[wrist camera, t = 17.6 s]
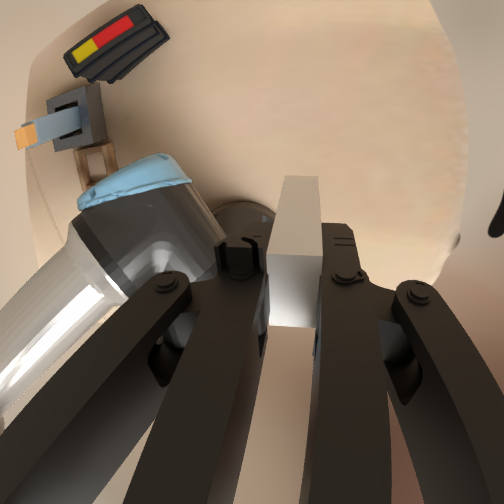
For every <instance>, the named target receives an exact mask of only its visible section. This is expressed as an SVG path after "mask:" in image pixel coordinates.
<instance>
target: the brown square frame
mask: <svg viewBox="0 0 504 504" xmlns="http://www.w3.org/2000/svg"><path fill="white" fill-rule="evenodd" d="M97 152H103V156H104V161H105V166H106V171H107V175H108V176H109V175H111V174H112V173H114V172H116V171H118V168H117V163H116V158H115V153H114V147H113V142H111V143H105V144H100V145H94V146H89V147H84V148H80V149H78V150H76V151H74V156H75V160H76V165H77V169H78V173H79V178H80V182H81V186H82V190H83V192H84V191H87V190H89V189H90V188H91V187H93V186H95V185H96V184H97V183H98V182H91V178H90V173H89V169H88V164H87V160H86V154H91V153H97Z"/></svg>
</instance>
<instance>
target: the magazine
mask: <svg viewBox="0 0 504 504" xmlns="http://www.w3.org/2000/svg"><path fill="white" fill-rule="evenodd" d="M169 39H170V37H169V35H168V34H167V33H166V31H165V30H164V28H163V27H162V26H161V25H160V23H159V22H158V21H154V20H153V18H152V17H151V16H150V14H149V13H148V11H147V10H146V9H145V7H144V6H143V5H140V4H137V5H135V6H134V7H132V8H130V9H128V10H127V11H125V12H123V13H122V14H120V15H118V16H117V17H115V18H113V19H112V20H110V21H109V22H107V23H106V24H104V25H103V26H101V27H100V28H98V29H97V30H95V31H94V32H92V33H91V34H90V35H88V36H87V37H85V38H84V39H83V40H81V41H80V42H79V43H77V44H76V45H75V46H73V47H72V48H71V49H69V50H68V51H67V52H66V53H65V54H64V57H63V58H64V60H65V62H66V64H67V65H68V67H69V69H70V70H71V72H72V74H73V76H74V77H75V78H78V77H79V76H82V77H84V78H87V80H88V82H89V83H94V82H95V81H96V80H99V81H107V82H108V84H113V83H114V82H115V81H116V80H121V79H122V78H123V77H125V76H126V75H127V74H128V73H129V72H130V71H131V70H132V69H134V68H135V67H136V66H137V65H138V64H139V63H140V62H142V61H143V60H144V59H145V58H146V57H148V56H149V55H150V54H151V53H153V52H154V51H155V50H156V49H158V48H159V47H160V46H161V45H163V44H164V43H165V42H167V41H168V40H169Z"/></svg>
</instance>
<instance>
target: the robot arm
mask: <svg viewBox="0 0 504 504" xmlns="http://www.w3.org/2000/svg"><path fill="white" fill-rule="evenodd" d="M192 182H193V181H192V179H191V178H188V177H187V175H186V174H185V173H184V171H183V170H182V169H181V167H180V166H179V165H178V163H177V162H176V161H175V159H174V158H173V157H172V156H170V155H168V154H165V153H156V154H152V155H149V156H146V157H144V158H142V159H139V160H137V161H135V162H133V163H131V164H129V165H127V166H125V167H123V168H121V169H119V170H118V171H116V172H114V173H112V174H111V175H109V176H107V177H106V178H104V179H102V180H101V181H99V182H98V183H97V184H96V185H95V186H93V187H91V188H90V189H89V190H87V191H85V192H84V193H83V194H81V195H80V196H79V198H78V199H77V205H78V209H79V211H82V212H81V213H80V214H79V215H78V216H77V217H75V218H74V219H73V220H72V221H71V222H70V223H69V228H68V236H67V241H66V244H65V246H63V247H62V248H61V249H60V250H59V251H58V252H57V253H56V254H55V255H54V256H53V257H52V258H51V259H50V260H48V261H47V262H46V263H45V264H44V265H43V266H42V267H41V268H40V269H39V270H38V271H37V272H36V273H35V274H34V275H33V276H32V277H31V278H30V279H29V280H28V281H27V282H26V283H25V284H24V286H23V287H22V288H21V289H20V290H19V291H18V292H17V293H16V294H15V295H14V296H13V297H12V298H11V299H10V300H9V302H8V303H7V304H6V305H5V306H4V307H3V308H2V309H1V310H0V504H92V503H93V502H94V500H95V499H96V497H97V496H98V495H99V494H100V492H101V491H102V490H103V488H104V487H105V486H106V485H107V483H108V482H109V481H110V479H111V478H112V477H113V475H114V474H115V472H116V471H117V470H118V468H119V467H120V466H121V464H122V463H123V462H124V460H125V459H126V458H127V456H128V455H129V454H130V452H131V451H132V449H133V448H134V447H135V445H136V444H137V443H138V441H139V440H140V438H141V437H142V436H143V434H144V433H145V432H146V430H147V429H148V427H149V426H150V425H151V423H152V422H153V421H154V419H155V418H156V419H155V421H154V424H153V426H152V429H151V431H150V434H149V436H148V439H147V441H146V444H145V446H144V449H143V451H142V454H141V456H140V459H139V462H138V464H137V467H136V470H135V472H134V475H133V477H132V480H131V483H130V485H129V488H128V490H127V493H126V496H125V498H124V501H123V504H233V501H234V497H235V492H236V488H237V484H238V479H239V475H240V471H241V466H242V462H243V457H244V453H245V448H246V444H247V439H248V434H249V429H250V424H251V420H252V415H253V410H254V406H255V400H256V396H257V390H258V385H259V381H260V375H261V370H262V365H263V359H264V355H265V349H266V343H267V339H268V335H267V325H268V320H269V325H276V326H292V327H312V328H316V332H315V340H314V348H313V356H314V359H313V375H312V391H311V403H310V415H309V426H308V436H307V445H306V455H305V463H304V471H303V478H302V485H301V493H300V499H299V504H391V487H392V484H391V483H392V480H391V478H392V477H391V476H392V474H391V473H392V472H391V439H390V424H389V423H390V422H389V409H388V398H387V391H388V394H389V397H390V399H391V402H392V405H393V407H394V410H395V413H396V415H397V418H398V421H399V424H400V427H401V430H402V433H403V435H404V438H405V441H406V444H407V447H408V450H409V453H410V456H411V459H412V463H413V466H414V469H415V472H416V476H417V479H418V482H419V486H420V489H421V493H422V496H423V500H424V503H425V504H504V395H503V393H502V391H501V390H500V388H499V386H498V384H497V382H496V380H495V379H494V377H493V375H492V373H491V372H490V370H489V368H488V367H487V365H486V363H485V361H484V360H483V358H482V357H481V355H480V353H479V352H478V350H477V348H476V347H475V345H474V344H473V342H472V340H471V339H470V337H469V336H468V334H467V333H466V331H465V330H464V328H463V327H462V325H461V324H460V322H459V321H458V319H457V318H456V317H455V315H454V314H453V312H452V311H451V309H450V308H449V307H448V305H447V304H446V302H445V301H444V300H443V298H442V297H441V296H440V294H439V293H438V292H437V291H436V290H435V289H434V288H433V287H432V286H431V285H429V284H427V283H425V282H422V281H418V280H407V281H404V282H401V283H400V284H399V285H398V286H397V289H396V291H394V290H390V289H386V288H382V287H380V286H377V285H375V284H373V283H371V282H370V281H369V277H368V275H367V274H366V272H365V271H364V270H362V269H361V266H360V261H359V257H358V252H357V247H356V243H355V240H354V234H353V230H352V229H350V228H349V227H348V226H347V225H346V224H340V223H321V212H320V197H319V184H318V176H285V179H284V183H283V187H282V191H281V196H280V200H279V204H278V208H277V212H276V214H275V213H274V212H273V211H271V210H270V209H268V208H266V207H264V206H262V205H259V204H256V203H252V202H246V201H238V202H231V203H228V204H225V205H222V206H221V207H219V208H217V209H216V210H215V211H213V212H212V213H211V211H210V210H209V208H208V207H207V205H206V204H205V202H204V201H203V199H202V198H201V196H200V194H199V193H198V191H197V190H196V188H195V187H194V185H193V184H192ZM115 306H121V307H120V308H119V309H118V310H117V311H115V312H114V313H113V314H112V315H111V316H110V317H109V318H108V319H107V320H106V321H105V322H104V323H103V324H102V325H101V326H100V327H99V328H98V329H97V330H96V331H95V333H94V334H92V335H91V336H90V338H89V339H88V340H87V341H86V342H85V343H84V344H83V345H82V346H81V347H80V348H79V349H78V350H77V351H76V352H75V353H74V354H73V355H72V356H71V357H70V358H69V359H68V360H67V361H66V362H65V363H64V365H63V366H62V367H61V368H60V369H59V370H58V371H57V372H56V373H55V374H54V375H53V376H52V377H51V378H50V380H49V381H48V382H47V383H46V384H45V385H44V386H43V387H42V389H40V390H39V392H38V393H37V394H36V395H35V396H34V397H33V398H32V399H31V401H30V402H29V403H28V404H27V405H26V406H25V407H24V408H23V410H22V411H21V412H20V413H19V415H17V417H16V418H15V419H14V420H13V421H12V422H11V424H10V425H9V426H8V427H7V428H6V429H4V425H5V423H4V417H3V415H4V414H5V413H6V412H7V411H8V410H9V409H10V408H11V407H12V405H14V404H15V403H16V402H17V401H18V399H19V398H20V397H21V396H22V395H23V394H24V393H25V392H26V391H27V390H28V389H29V388H30V387H31V386H32V385H33V384H34V383H35V382H36V381H37V380H38V379H39V378H40V377H41V376H42V374H44V373H45V372H46V371H47V370H48V369H49V368H50V367H51V366H52V365H53V364H54V363H55V362H56V361H57V360H58V359H59V358H60V357H61V356H62V355H63V354H64V353H65V352H66V351H67V350H68V349H69V348H70V347H71V346H72V345H73V344H74V343H75V342H76V341H77V340H79V338H81V337H82V335H84V334H85V333H86V332H87V331H88V330H89V329H90V328H91V327H92V326H93V325H94V324H95V323H97V322H98V321H99V320H100V319H101V318H102V317H103V316H104V315H105V314H106V313H107V312H109V311H110V310H111V309H112V308H113V307H115ZM159 338H160V339H159ZM158 339H159V340H158Z"/></svg>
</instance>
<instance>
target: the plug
mask: <svg viewBox="0 0 504 504" xmlns="http://www.w3.org/2000/svg"><path fill="white" fill-rule="evenodd" d="M80 128H82V126H81V120H80V114H79V107H78V106H76V107H72V108H69V109H65V110H62V111H59V112H55V113H52V114H49V115H46V116H43V117H40V118H37V119H35V120H32V121H30V122H27V123H25V124H23V125H22V128H20V129H18V130H16V131H14V132H15V138H16V143H17V147H18V150H19V149H22V148H25V147H26V149H28V148H31V147H35V146H38V145H41V144H43V143H45V142H48V141H50V140H52V139H55V138H57V137H60V136H62V135H65V134H67V133H70V132H72V131H75V130H77V129H80Z"/></svg>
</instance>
